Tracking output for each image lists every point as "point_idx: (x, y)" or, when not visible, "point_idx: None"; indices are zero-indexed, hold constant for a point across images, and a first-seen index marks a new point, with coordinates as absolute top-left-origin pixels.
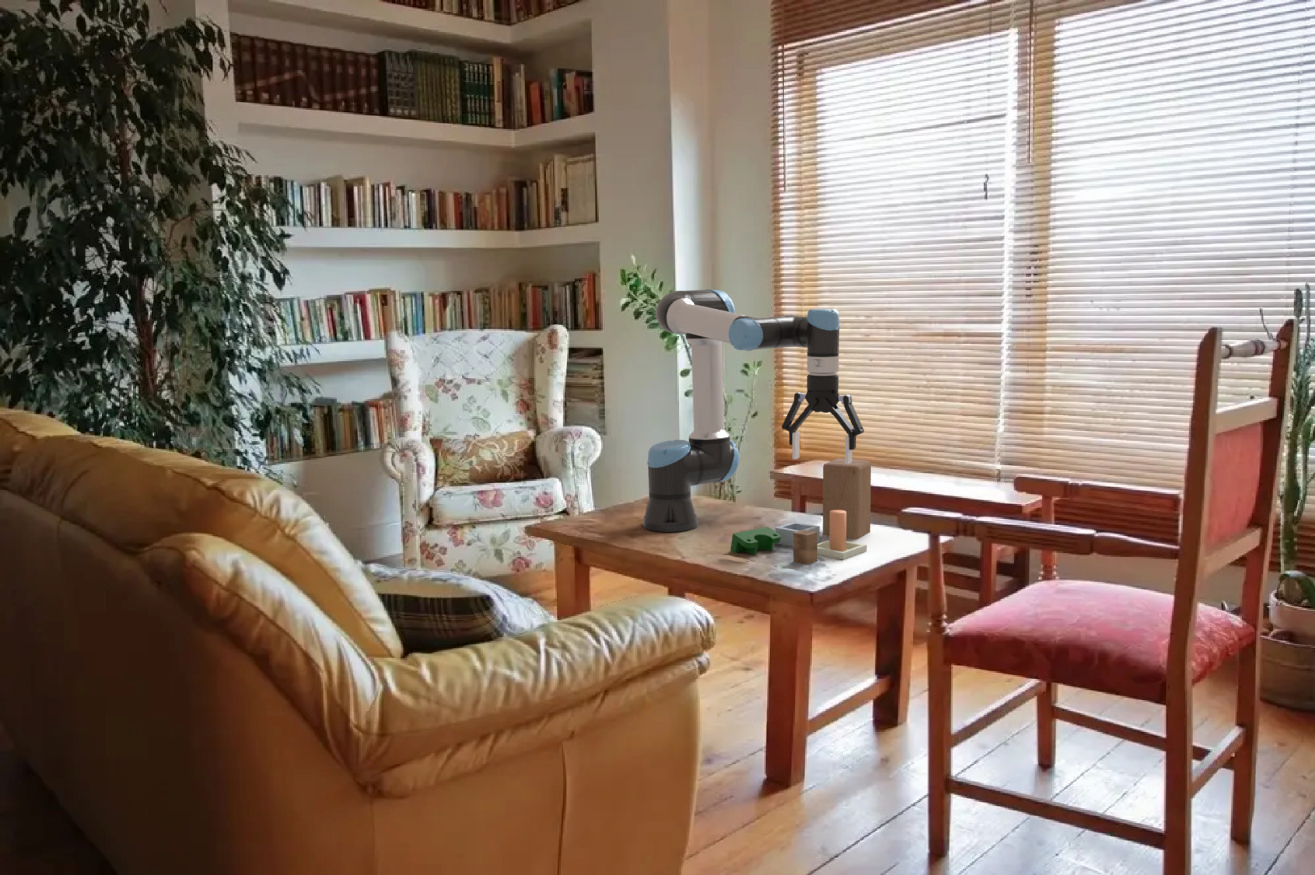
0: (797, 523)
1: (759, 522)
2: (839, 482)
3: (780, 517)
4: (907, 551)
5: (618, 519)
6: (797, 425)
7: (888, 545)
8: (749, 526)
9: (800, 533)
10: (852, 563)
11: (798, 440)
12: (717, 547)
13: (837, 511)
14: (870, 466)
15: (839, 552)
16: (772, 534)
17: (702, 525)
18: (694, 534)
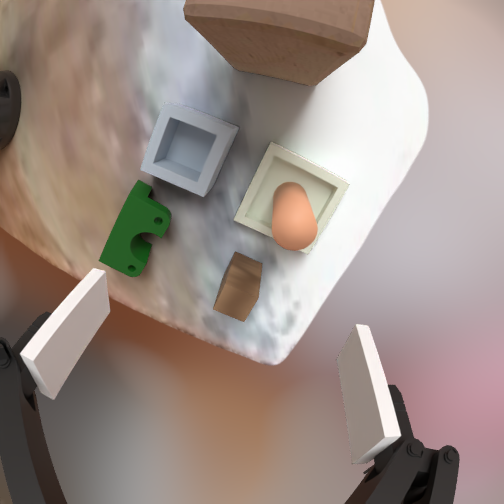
0: (174, 116)
1: (92, 10)
2: (270, 47)
3: None
4: (415, 140)
5: None
6: (43, 436)
7: (380, 98)
8: (81, 43)
9: (227, 311)
10: (322, 240)
11: (63, 339)
12: (78, 198)
13: (292, 226)
14: None
15: (300, 250)
16: (152, 221)
17: (24, 80)
18: (29, 137)
